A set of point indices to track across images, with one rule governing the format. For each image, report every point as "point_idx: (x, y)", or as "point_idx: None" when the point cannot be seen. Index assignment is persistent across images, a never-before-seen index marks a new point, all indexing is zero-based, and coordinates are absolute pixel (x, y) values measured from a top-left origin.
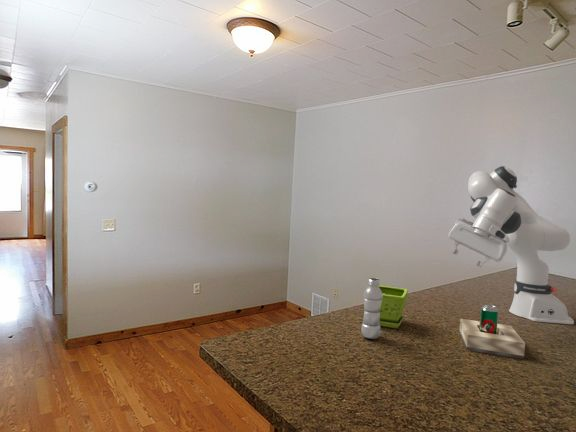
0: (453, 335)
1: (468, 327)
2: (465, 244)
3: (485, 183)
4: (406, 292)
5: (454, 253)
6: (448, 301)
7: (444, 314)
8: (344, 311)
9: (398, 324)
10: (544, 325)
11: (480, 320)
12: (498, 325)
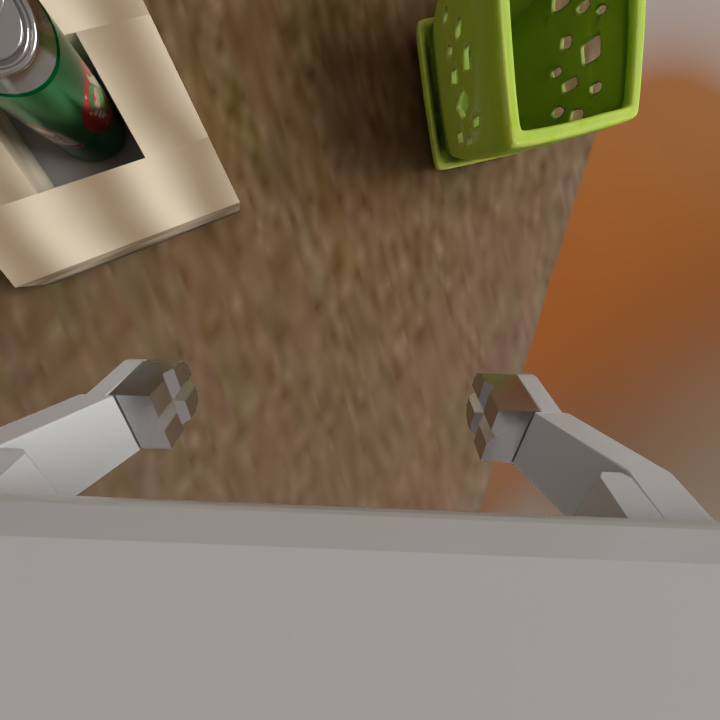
0: (240, 150)
1: (155, 72)
2: (490, 520)
3: None
4: (503, 51)
5: (496, 374)
6: None
7: (348, 375)
8: None
9: (420, 20)
10: None
11: (79, 56)
12: (61, 238)
